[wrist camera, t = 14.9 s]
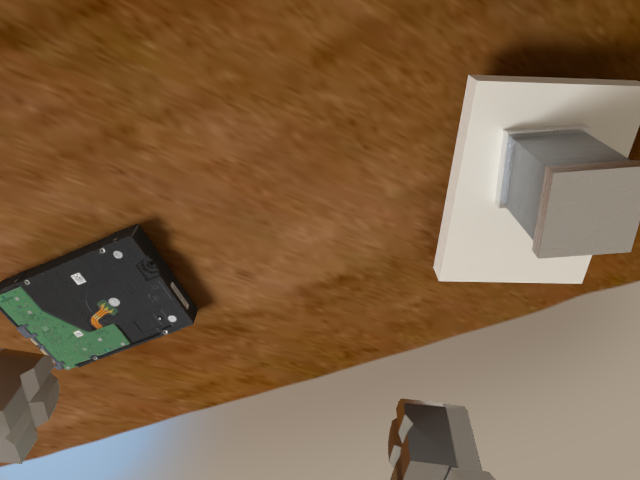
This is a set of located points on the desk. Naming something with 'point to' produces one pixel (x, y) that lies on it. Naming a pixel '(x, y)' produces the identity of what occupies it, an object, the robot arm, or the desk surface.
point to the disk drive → (97, 300)
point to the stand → (483, 164)
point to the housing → (569, 191)
